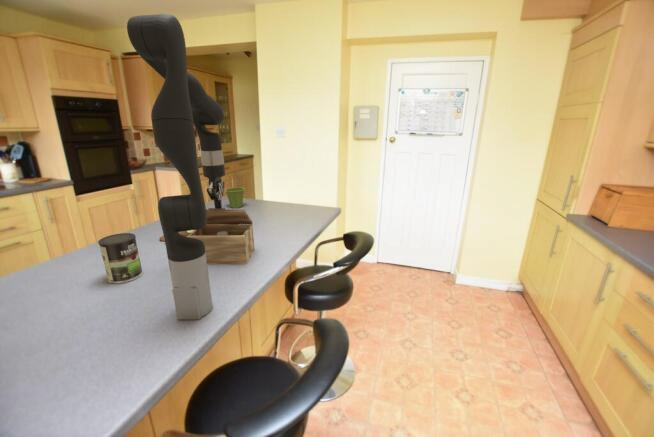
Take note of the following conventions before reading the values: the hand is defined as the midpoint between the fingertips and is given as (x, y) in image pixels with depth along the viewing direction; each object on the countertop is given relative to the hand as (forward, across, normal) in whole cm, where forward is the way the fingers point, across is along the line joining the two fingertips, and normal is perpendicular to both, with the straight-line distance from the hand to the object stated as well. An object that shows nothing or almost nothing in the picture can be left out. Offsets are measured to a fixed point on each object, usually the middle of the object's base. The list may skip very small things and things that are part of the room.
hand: (218, 209), depth 114 cm
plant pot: (+22, +73, +15) cm, 78 cm away
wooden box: (+20, 0, 0) cm, 20 cm away
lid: (+4, +2, 0) cm, 5 cm away
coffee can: (+19, -16, +29) cm, 38 cm away
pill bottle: (+19, 0, 0) cm, 19 cm away
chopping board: (+21, +34, +19) cm, 44 cm away
